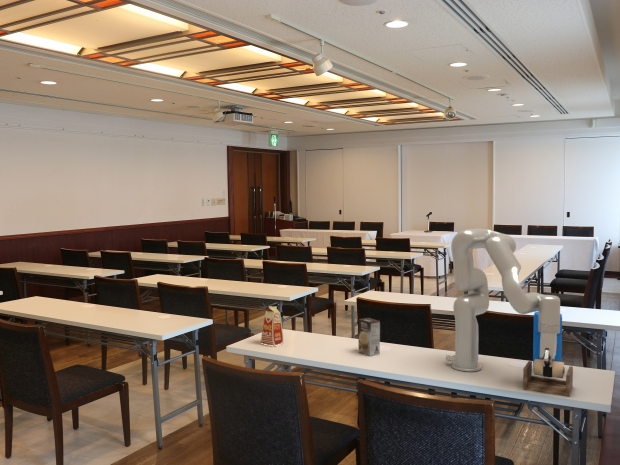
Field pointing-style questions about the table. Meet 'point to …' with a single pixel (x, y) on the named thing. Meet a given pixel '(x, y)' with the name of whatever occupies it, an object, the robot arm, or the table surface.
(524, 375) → the cradle
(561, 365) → the kraft roll
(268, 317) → the milk carton
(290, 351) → the table surface
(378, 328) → the coffee box
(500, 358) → the table surface
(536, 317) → the thermos
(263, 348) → the table surface
